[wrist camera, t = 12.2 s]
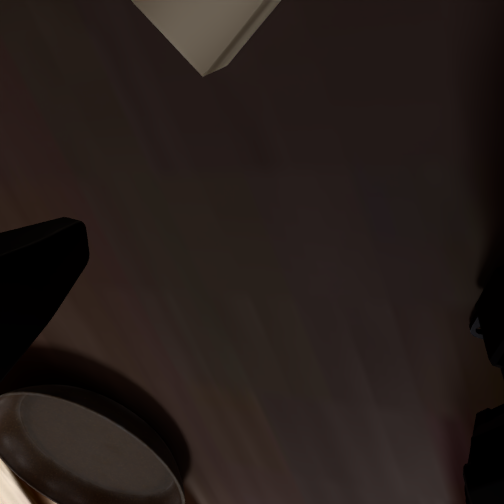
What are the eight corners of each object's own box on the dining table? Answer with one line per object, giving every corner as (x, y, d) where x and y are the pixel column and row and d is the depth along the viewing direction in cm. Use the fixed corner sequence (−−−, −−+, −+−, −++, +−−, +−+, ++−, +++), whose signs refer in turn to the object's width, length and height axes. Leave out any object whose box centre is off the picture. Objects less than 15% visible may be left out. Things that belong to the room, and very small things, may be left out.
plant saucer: (234, 455, 36) (221, 493, 33) (151, 522, 48) (137, 553, 45) (29, 326, 35) (-2, 354, 32) (-4, 428, 46) (-29, 455, 44)
